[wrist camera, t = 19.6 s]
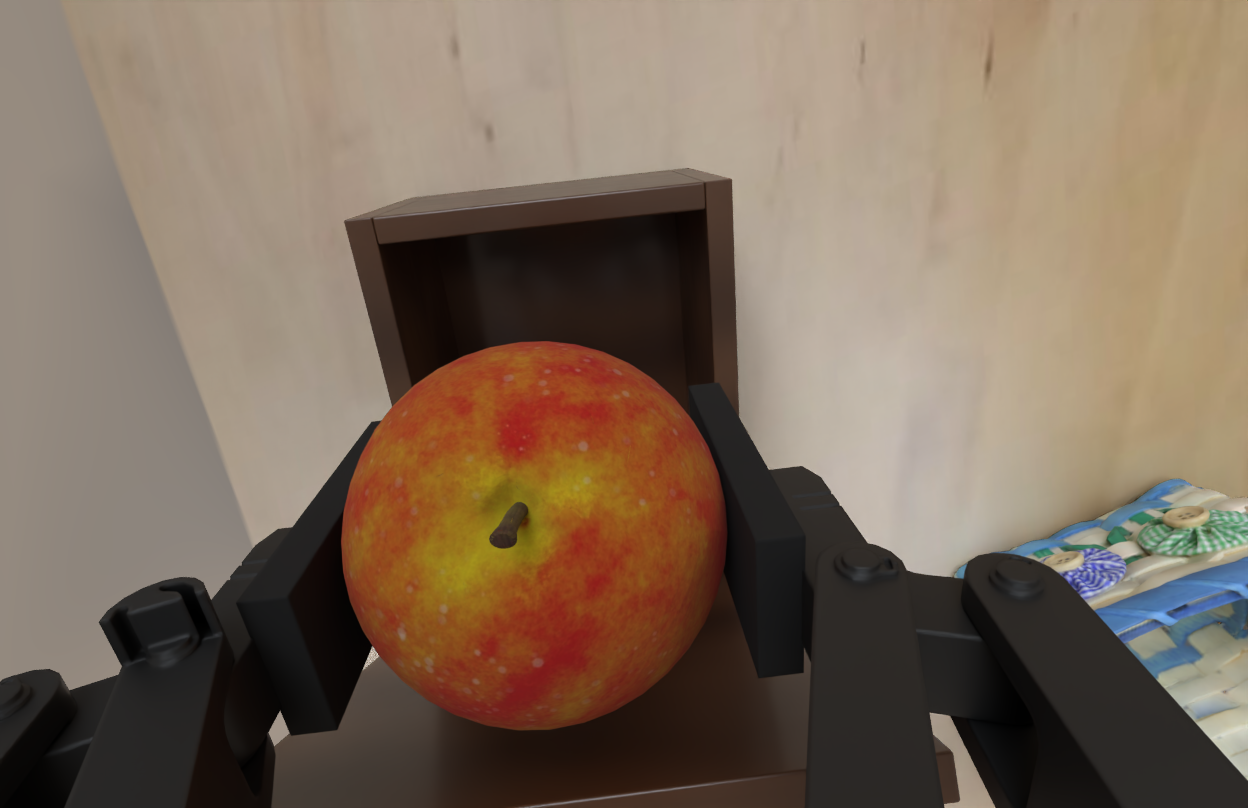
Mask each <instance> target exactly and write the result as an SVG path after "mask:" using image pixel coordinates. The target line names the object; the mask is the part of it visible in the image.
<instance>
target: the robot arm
mask: <svg viewBox="0 0 1248 808" xmlns="http://www.w3.org/2000/svg"><path fill="white" fill-rule="evenodd" d="M688 389H689V405H690V418H691V419H692V420H693V422H694V423H695V425H696V427H697V428H698V430H699V432H700V433H701V435H702V437H703V439H704V440H705V442H706V444H707V445H708V447H709V450H710V452H711V455H712V458H713V460H714V463H715V465H716V468H717V470H718V473H719V477H720V481H721V485H722V490H723V494H724V499H725V503H726V518H727V532H728V534H727V546H726V558H725V566H724V570H723V572H724V575H725V578H726V581H727V584H728V587H729V590H730V593H731V596H732V599H733V602H734V605H735V608H736V611H737V614H738V617H739V620H740V623H741V626H742V629H743V632H744V635H745V639H746V642H747V645H748V648H749V651H750V654H751V657H752V660H753V663H754V666H755V669H756V672H757V675H758V678H766V677H775V676H783V675H791V674H799V673H804V648H805V651H806V653H807V655H808V658H809V660H810V662H811V674H810V696H809V719H808V742H807V764H806V787H805V808H944V802H943V796H942V789H941V783H940V777H939V770H938V764H937V758H936V751H935V745H934V739H933V732H932V726H931V720H930V713H936V714H943V715H949V716H951V718H952V720H953V722H954V725H955V727H956V729H957V731H958V733H959V735H960V737H961V739H962V741H963V743H964V745H965V747H966V749H967V751H968V753H969V755H970V757H971V759H972V761H973V763H974V765H975V767H976V769H977V771H978V773H979V775H980V777H981V779H982V781H983V783H984V785H985V787H986V789H987V791H988V793H989V795H990V797H991V799H992V801H993V803H994V805H995V807H996V808H1248V780H1247V779H1246V778H1245V777H1244V776H1243V775H1242V773H1241V772H1240V771H1239V770H1238V769H1237V768H1236V767H1235V766H1234V765H1233V764H1232V762H1231V761H1230V760H1229V759H1228V758H1227V757H1226V756H1225V755H1224V754H1223V752H1222V751H1221V750H1220V749H1219V748H1218V747H1217V746H1216V745H1215V744H1214V743H1213V741H1212V740H1211V739H1210V738H1209V737H1208V736H1207V735H1206V734H1205V733H1204V731H1203V730H1202V729H1201V728H1200V727H1199V726H1198V725H1197V724H1196V723H1195V722H1194V720H1193V719H1192V718H1191V717H1190V716H1189V715H1188V714H1187V713H1186V712H1185V711H1184V709H1183V708H1182V707H1181V706H1180V705H1179V704H1178V703H1177V702H1176V701H1175V699H1174V698H1173V697H1172V696H1171V695H1170V694H1169V693H1168V692H1167V691H1166V690H1165V688H1164V687H1163V686H1162V685H1161V684H1160V683H1159V682H1158V681H1157V680H1156V678H1155V677H1154V676H1153V675H1152V674H1151V673H1150V672H1149V671H1148V670H1147V669H1146V667H1145V666H1144V665H1143V664H1142V663H1141V662H1140V661H1139V660H1138V659H1137V658H1136V656H1135V655H1134V654H1133V653H1132V652H1131V651H1130V650H1129V649H1128V648H1127V646H1126V645H1125V644H1124V643H1123V642H1122V641H1121V640H1120V639H1119V638H1118V637H1117V635H1116V634H1115V633H1114V632H1113V631H1112V630H1111V629H1110V628H1109V627H1108V625H1107V624H1106V623H1105V622H1104V621H1103V620H1102V619H1101V618H1100V617H1099V616H1098V614H1097V613H1096V612H1095V611H1094V610H1093V609H1092V608H1091V607H1090V606H1089V605H1088V603H1087V602H1086V601H1085V600H1084V599H1083V598H1082V597H1081V596H1080V595H1079V593H1078V592H1077V591H1076V590H1075V589H1074V588H1073V587H1072V586H1071V585H1070V584H1069V582H1068V581H1067V580H1066V579H1065V578H1064V577H1062V576H1061V575H1060V574H1059V573H1057V572H1056V571H1055V570H1054V569H1052V568H1051V567H1049V566H1047V565H1045V564H1043V563H1041V562H1038V561H1036V560H1034V559H1031V558H1028V557H1024V556H1020V555H1016V554H1008V553H989V554H984V555H978V556H977V557H975V558H974V559H972V560H970V561H969V562H968V563H967V566H966V569H965V571H964V578H963V579H962V578H952V577H941V576H931V575H924V574H918V573H913V572H910V571H907V570H906V568H905V566H904V564H903V562H902V560H900V559H899V558H898V557H897V556H896V555H894V554H893V553H892V552H891V551H888V550H886V549H884V548H881V547H879V546H877V545H873V544H868V543H867V542H866V540H865V539H864V537H863V536H862V535H861V533H860V532H859V530H858V529H857V528H856V526H855V525H854V523H853V522H852V521H851V519H850V518H849V516H848V515H847V513H846V512H845V511H844V509H843V508H842V506H839V502H838V501H837V499H836V498H835V497H834V495H833V494H831V491H830V490H829V488H828V487H827V485H826V484H825V483H824V481H823V480H822V478H821V477H819V476H818V475H816V474H814V473H813V472H811V471H809V470H808V469H806V468H804V467H803V466H799V467H790V468H782V469H773V470H768V468H767V466H766V464H765V463H764V461H763V459H762V457H761V456H760V454H759V452H758V450H757V448H756V447H755V445H754V443H753V441H752V440H751V438H750V436H749V434H748V433H747V431H746V429H745V427H744V426H743V424H742V422H741V420H740V419H739V417H738V415H737V413H736V412H735V410H734V408H733V406H732V404H731V403H730V401H729V399H728V397H727V396H726V394H725V392H724V390H723V389H722V387H721V385H720V383H719V382H718V383H709V384H701V385H692V386H688ZM380 422H381V421H375V422H371V423H370V425H369V426H368V427H367V429H366V430H365V431H364V433H363V434H362V435H361V437H360V438H359V439H358V441H357V442H356V443H355V445H354V446H353V447H352V449H351V450H350V451H349V453H348V454H347V455H346V457H345V458H344V459H343V461H342V462H341V463H340V465H339V466H338V467H337V469H336V470H335V471H334V473H333V474H332V475H331V477H330V478H329V479H328V481H327V482H326V483H325V485H324V486H323V487H322V489H321V490H320V491H319V493H318V494H317V495H316V497H315V498H314V499H313V501H312V502H311V503H310V505H309V506H308V507H307V509H306V510H305V511H304V513H303V514H302V515H301V517H300V518H299V519H298V521H297V522H296V523H295V525H294V526H293V527H291V528H282V529H277V530H276V531H275V532H273V533H272V534H271V535H269V536H268V537H266V538H265V539H264V540H262V541H261V542H259V543H258V544H257V545H256V546H255V547H254V548H253V549H252V550H251V552H250V553H249V554H248V555H247V557H246V558H245V559H244V560H243V562H242V566H239V567H238V568H237V569H236V570H235V571H234V573H233V574H232V575H231V576H230V578H231V579H230V580H227V581H226V583H225V584H224V585H223V586H222V588H221V589H220V590H219V591H218V593H217V594H216V595H215V596H214V597H213V599H212V600H211V599H210V597H209V595H208V592H207V590H206V588H205V585H204V583H203V582H201V581H200V580H198V579H196V578H190V577H188V578H187V577H179V578H174V579H169V580H165V581H161V582H158V583H156V584H153V585H150V586H147V587H145V588H142V589H140V590H138V591H137V592H135V593H133V594H131V595H129V596H127V597H125V598H124V599H122V600H121V601H120V602H118V603H117V604H116V605H114V606H113V607H112V608H110V609H109V610H108V611H107V612H106V614H105V615H104V616H103V617H102V619H101V620H100V621H99V623H100V625H101V627H102V629H103V631H104V633H105V635H106V637H107V639H108V641H109V643H110V644H111V646H112V648H113V650H114V652H115V654H116V656H117V658H118V660H119V662H120V663H121V665H122V668H121V670H120V673H119V675H116V676H113V677H110V678H107V679H104V680H101V681H97V682H94V683H91V684H88V685H85V686H82V687H79V688H76V689H73V690H69V689H68V687H67V686H66V684H65V682H64V681H63V679H62V677H61V675H60V674H59V673H57V672H55V671H53V670H50V669H44V670H33V671H29V672H25V673H22V674H18V675H14V676H11V677H8V678H5V679H3V680H2V681H1V682H0V808H271V806H272V795H273V783H274V771H275V759H276V754H275V749H274V745H273V742H272V740H271V738H270V735H269V733H268V732H269V730H270V728H271V726H272V724H273V723H274V721H275V719H276V717H277V715H278V713H279V711H281V713H282V715H283V718H284V720H285V723H286V725H287V728H288V730H289V732H290V735H291V736H294V735H302V734H311V733H319V732H327V731H335V730H338V727H339V725H340V723H341V720H342V718H343V715H344V713H345V711H346V708H347V706H348V703H349V701H350V699H351V696H352V694H353V691H354V689H355V687H356V684H357V682H358V679H359V677H360V674H361V672H362V670H363V667H364V665H365V662H366V660H367V658H368V655H369V653H370V650H371V648H372V644H371V642H370V641H369V639H368V638H367V636H366V635H365V633H364V632H363V630H362V628H361V626H360V623H359V621H358V619H357V617H356V614H355V612H354V610H353V607H352V605H351V603H350V599H349V595H348V591H347V586H346V582H345V578H344V574H343V562H342V548H341V537H342V525H343V513H344V508H345V504H346V499H347V495H348V491H349V486H350V482H351V480H352V477H353V474H354V472H355V469H356V467H357V464H358V461H359V459H360V456H361V454H362V452H363V450H364V449H365V447H366V445H367V443H368V441H369V440H370V438H371V436H372V434H373V432H374V431H375V429H376V428H377V426H378V425H379V424H380ZM929 712H930V713H929Z"/></svg>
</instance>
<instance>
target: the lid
mask: <svg viewBox="0 0 1248 808" xmlns="http://www.w3.org/2000/svg"><path fill="white" fill-rule="evenodd" d="M810 674H811V662H810V660H809V658H808V655H807V653H806V651H805V648H804V673H799V674H791V675H783V676H775V677H766V678H758V675H757V672H756V669H755V666H754V663H753V660H752V657H751V654H750V651H749V648H748V645H747V642H746V639H745V635H744V632H743V629H742V626H741V623H740V620H739V617H738V614H737V611H736V608H735V605H734V602H733V599H732V596H731V593H730V590H729V587H728V584H727V581H726V578H725V575H724V572H723V574H722V577H721V581H720V585H719V589H718V593H717V596H716V598H715V600H714V603H713V605H712V608H711V610H710V612H709V615H708V617H707V619H706V622H705V624H704V625H703V627H702V628H701V630H700V632H699V633H698V635H697V636H696V638H695V640H694V641H693V643H692V644H691V646H690V648H689V649H688V650H687V652H686V653H685V654H684V655H683V656H682V657H681V658H680V660H679V661H678V662H677V663H676V664H675V665H674V667H673V668H672V669H671V670H670V671H669V672H668V673H667V674H666V675H665V676H664V677H663V678H661V679H660V680H659V681H658V682H657V683H655V684H654V685H653V686H652V687H651V688H649V689H648V690H647V691H646V692H645V693H643V694H642V695H641V696H639V697H637V698H635V699H634V700H632V701H630V702H629V703H627V704H625V705H624V706H622V707H620V708H619V709H617V710H615V711H613V712H610V713H608V714H605V715H603V716H600V717H598V718H595V719H593V720H590V721H587V722H585V723H580V724H576V725H571V726H566V727H561V728H556V729H551V730H512V729H506V728H499V727H493V726H487V725H483V724H480V723H477V722H474V721H471V720H468V719H465V718H462V717H459V716H456V715H454V714H452V713H450V712H448V711H446V710H445V709H443V708H441V707H439V706H437V705H435V704H433V703H431V702H430V701H428V700H426V699H425V698H424V697H422V696H421V695H420V694H418V693H417V692H416V691H415V690H413V689H412V688H411V687H409V686H408V685H407V684H406V683H404V682H403V681H402V680H401V679H400V678H399V677H398V676H397V675H396V674H395V672H394V671H393V670H392V669H391V668H390V667H389V666H388V665H387V664H386V663H385V662H384V661H383V659H382V658H381V657H380V656H379V657H378V658H377V659H376V660H375V661H374V662H372V663H371V664H370V665H369V666H368V667H367V668H365V669H364V670H363V671H362V672H361V674H360V677H359V679H358V682H357V684H356V687H355V689H354V691H353V694H352V696H351V699H350V701H349V703H348V706H347V708H346V711H345V713H344V715H343V718H342V720H341V723H340V725H339V727H338V730H335V731H327V732H319V733H311V734H302V735H294V736H291V735H290V734H288V735H287V736H286V737H285V738H284V739H283V740H281V741H280V742H279V743H278V744H277V745H276V746H274V749H275V754H276V759H275V771H274V783H273V795H272V806H271V808H805V787H806V764H807V742H808V719H809V696H810ZM933 739H934V745H935V751H936V758H937V764H938V770H939V777H940V783H941V789H942V796H943V802H944V804H947V803H955V802H959V801H960V796H959V790H958V783H957V776H956V769H955V763H954V756H953V753H952V751H951V750H950V749H949V748H948V747H947V746H945V745H944V744H943V743H942V742H941V741H940V740H939V739H938V738H936V737H935V736H934V735H933Z"/></svg>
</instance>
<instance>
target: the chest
mask: <svg viewBox="0 0 1248 808" xmlns="http://www.w3.org/2000/svg"><path fill="white" fill-rule="evenodd" d="M344 222H345V226H346V230H347V234H348V238H349V242H350V245H351V249H352V253H353V257H354V261H355V265H356V269H357V272H358V276H359V280H360V284H361V288H362V292H363V296H364V299H365V303H366V307H367V311H368V315H369V319H370V323H371V326H372V330H373V334H374V338H375V342H376V346H377V350H378V353H379V357H380V361H381V365H382V369H383V373H384V377H385V380H386V384H387V388H388V392H389V396H390V400H391V404H392V407H393V405H394V404H395V403H396V402H397V401H398V400H400V399H401V398H402V397H403V396H404V395H405V394H406V393H407V392H408V391H409V390H410V389H411V388H412V387H413V386H414V385H415V384H417V383H418V382H420V381H421V380H423V379H424V378H425V377H427V376H428V375H430V374H431V373H433V372H434V371H435V370H437V369H439V368H441V367H443V366H445V365H447V364H449V363H451V362H453V361H455V360H457V359H459V358H461V357H463V356H466V355H469V354H472V353H475V352H478V351H481V350H484V349H487V348H490V347H495V346H501V345H506V344H512V343H518V342H538V341H550V342H559V343H568V344H576V345H580V346H583V347H587V348H591V349H595V350H598V351H602V352H605V353H607V354H609V355H611V356H614V357H616V358H618V359H620V360H623V361H625V362H627V363H629V364H631V365H632V366H634V367H636V368H637V369H639V370H640V371H642V372H643V373H645V374H646V375H648V376H649V377H651V378H652V379H654V380H655V381H656V382H657V383H658V384H659V385H660V386H661V387H662V388H664V389H665V390H666V391H667V392H668V393H669V394H670V395H671V396H672V397H673V398H675V399H676V401H677V402H678V403H679V404H680V406H681V407H682V408H683V409H684V410H685V412H686V413H687V414H688V415H689V417H690V405H689V389H688V386H692V385H701V384H709V383H718V382H719V383H720V385H721V387H722V389H723V390H724V392H725V394H726V396H727V397H728V399H729V401H730V403H731V404H732V406H733V408H734V410H735V412H736V413H737V415H738V417H739V400H738V367H737V333H736V300H735V267H734V233H733V200H732V179H730V178H726V177H722V176H718V175H714V174H710V173H706V172H702V171H698V170H694V169H689V168H685V169H676V170H667V171H657V172H648V173H639V174H629V175H620V176H611V177H601V178H592V179H582V180H573V181H564V182H554V183H545V184H536V185H526V186H517V187H508V188H498V189H489V190H480V191H470V192H461V193H452V194H442V195H433V196H424V197H414V198H410V199H406V200H403V201H400V202H397V203H394V204H392V205H389V206H386V207H383V208H380V209H377V210H374V211H371V212H368V213H365V214H362V215H359V216H356V217H353V218H350V219H347V220H345V221H344Z"/></svg>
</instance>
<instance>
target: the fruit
mask: <svg viewBox="0 0 1248 808" xmlns="http://www.w3.org/2000/svg"><path fill="white" fill-rule="evenodd" d="M727 534H728V532H727V518H726V503H725V499H724V494H723V490H722V485H721V481H720V477H719V473H718V470H717V468H716V465H715V463H714V460H713V458H712V455H711V452H710V450H709V447H708V445H707V444H706V442H705V440H704V439H703V437H702V435H701V433H700V432H699V430H698V428H697V427H696V425H695V423H694V422H693V420H692V419H691V418H690V417H689V415H688V414H687V413H686V412H685V410H684V409H683V408H682V407H681V406H680V404H679V403H678V402H677V401H676V399H675V398H673V397H672V396H671V395H670V394H669V393H668V392H667V391H666V390H665V389H664V388H662V387H661V386H660V385H659V384H658V383H657V382H656V381H655V380H654V379H652V378H651V377H649V376H648V375H646V374H645V373H643V372H642V371H640V370H639V369H637V368H636V367H634V366H632V365H631V364H629V363H627V362H625V361H623V360H620V359H618V358H616V357H614V356H611V355H609V354H607V353H605V352H602V351H598V350H595V349H591V348H587V347H583V346H580V345H576V344H568V343H559V342H550V341H538V342H518V343H512V344H506V345H501V346H495V347H490V348H487V349H484V350H481V351H478V352H475V353H472V354H469V355H466V356H463V357H461V358H459V359H457V360H455V361H453V362H451V363H449V364H447V365H445V366H443V367H441V368H439V369H437V370H435V371H434V372H433V373H431V374H430V375H428V376H427V377H425V378H424V379H423V380H421V381H420V382H418V383H417V384H415V385H414V386H413V387H412V388H411V389H410V390H409V391H408V392H407V393H406V394H405V395H404V396H403V397H402V398H401V399H400V400H398V401H397V402H396V403H395V404H394V405H393V407H392V408H391V409H390V410H389V412H388V413H387V414H386V416H385V417H384V418H383V420H382V421H381V422H380V424H379V425H378V426H377V428H376V429H375V431H374V432H373V434H372V436H371V438H370V440H369V441H368V443H367V445H366V447H365V449H364V450H363V452H362V454H361V456H360V459H359V461H358V464H357V467H356V469H355V472H354V474H353V477H352V480H351V482H350V486H349V491H348V495H347V499H346V504H345V508H344V513H343V525H342V537H341V548H342V562H343V574H344V578H345V582H346V586H347V591H348V595H349V599H350V603H351V605H352V607H353V610H354V612H355V614H356V617H357V619H358V621H359V623H360V626H361V628H362V630H363V632H364V633H365V635H366V636H367V638H368V639H369V641H370V642H371V644H372V646H373V647H374V649H375V650H376V652H377V653H378V655H379V656H380V657H381V658H382V659H383V661H384V662H385V663H386V664H387V665H388V666H389V667H390V668H391V669H392V670H393V671H394V672H395V674H396V675H397V676H398V677H399V678H400V679H401V680H402V681H403V682H404V683H406V684H407V685H408V686H409V687H411V688H412V689H413V690H415V691H416V692H417V693H418V694H420V695H421V696H422V697H424V698H425V699H426V700H428V701H430V702H431V703H433V704H435V705H437V706H439V707H441V708H443V709H445V710H446V711H448V712H450V713H452V714H454V715H456V716H459V717H462V718H465V719H468V720H471V721H474V722H477V723H480V724H483V725H487V726H493V727H499V728H506V729H512V730H551V729H556V728H561V727H566V726H571V725H576V724H580V723H585V722H587V721H590V720H593V719H595V718H598V717H600V716H603V715H605V714H608V713H610V712H613V711H615V710H617V709H619V708H620V707H622V706H624V705H625V704H627V703H629V702H630V701H632V700H634V699H635V698H637V697H639V696H641V695H642V694H643V693H645V692H646V691H647V690H648V689H649V688H651V687H652V686H653V685H654V684H655V683H657V682H658V681H659V680H660V679H661V678H663V677H664V676H665V675H666V674H667V673H668V672H669V671H670V670H671V669H672V668H673V667H674V665H675V664H676V663H677V662H678V661H679V660H680V658H681V657H682V656H683V655H684V654H685V653H686V652H687V650H688V649H689V648H690V646H691V644H692V643H693V641H694V640H695V638H696V636H697V635H698V633H699V632H700V630H701V628H702V627H703V625H704V624H705V622H706V619H707V617H708V615H709V612H710V610H711V608H712V605H713V603H714V600H715V598H716V596H717V593H718V589H719V585H720V581H721V577H722V574H723V570H724V566H725V558H726V546H727Z"/></svg>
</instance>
